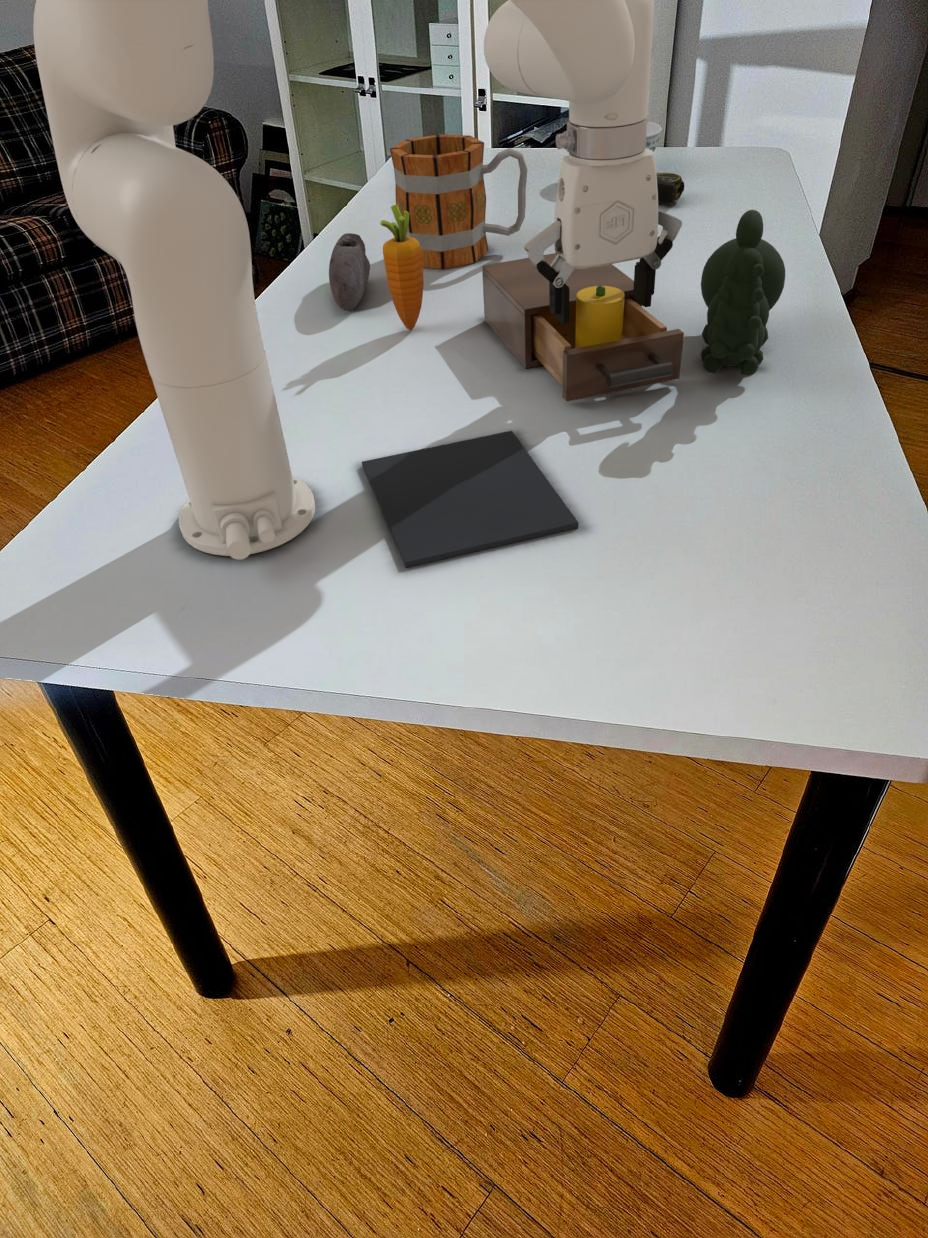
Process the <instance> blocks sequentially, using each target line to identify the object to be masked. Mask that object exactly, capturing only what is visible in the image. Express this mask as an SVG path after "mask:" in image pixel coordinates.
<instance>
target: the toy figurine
mask: <svg viewBox="0 0 928 1238" xmlns="http://www.w3.org/2000/svg"><path fill="white" fill-rule="evenodd" d="M763 219H764V218H763V216H762V214H761V213H760V212H759V211H758V210H757V209H748V210H747V211H745V212H744V213H743V214H742V215H741V217H740V219H739V221H738V223H737V226H736V231H735V238H732V239H729V240H727V241H726V242H724V243H723V244H722V245H720V246H719V247H717V249H715V250H714V251H713V252H712V253H711V255H710V256H709V257H708V258H707V261H706V262H705V264H704V266H703V270H702V273H701V279H700V290H701V291H700V292H701V296H702V298H703V302H704V304H705V305H706V308H707V312H706V323H707V324H705V326H704V327H703V329H702V332H701V337H702V340H703V342H704V343H705V344H706V345H707V346H706V347H705V346H704V347H703V348H702V351H701V352H700V354H699V355H700V359H701V361H702V365H703V369H704V370H705V372H707V373H709V374H710V373H711V374H716V373H718V372H719V371H720V370H721V368H722V367H723V366H726V367H738V369H739V372H740V374H742V375H743V376H752V375H753V374H755V373H756V372H757V371H758V369H759V366H760V365H761V363H762V362H763V361H764V352H763V351H762V350H761V348H762V347H763V346H764V345H765V343H766V342H767V341H768V339H769V332H768V328H767V323H768V321H769V318H770V311H771V310H772V309H773V308H774V307H775V305H776V304H777V303H778V302H779V300H780V298H781V296H782V293H783V291H784V287H785V282H786V266H785V263H784V260H783V258H782V256H781V254H780V252H779V251H778V250H777V249H776V248H775V247H774V246H773V245H772V244H771V243H769V242H768V241H766V240H764V239H762V238H763V235H764V220H763Z"/></svg>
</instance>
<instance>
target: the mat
mask: <svg viewBox="0 0 928 1238" xmlns="http://www.w3.org/2000/svg"><path fill="white" fill-rule="evenodd" d="M361 467H362V469H363V472H364V473H365V476H366V478H367V481H368V483H369V485H370V488H371V490H372V492H373V495H374V497H375V499H376V502H377V504H378V506H379V509H380V511H381V513H382V516H383V518H384V520H385V522H386V525H387V528H388V530H389V532H390V534H391V537H392V539H393V541H394V544H395V546H396V549H397V550H398V553H399V555H400V557H401V560H402V562H403V564H404V567H405V568H410V567H414V566H419V565H423V564H428V563H431V562H436V561H440V560H444V559H445V560H446V559H449V558H454V557H458V556H462V555H467V554H470V553H475V552H481V551H484V550H488V549H492V548H497V547H501V546H505V545H509V544H515V543H518V542H523V541H526V540H531V539H535V538H540V537H544V536H549V535H552V534H556V533H557V534H558V533H561V532H562V533H563V532H565V531H570V530H574V529H578V528H579V521H578V520H577V518H576V517H575V515H574V514H573V512H571V510H570V509H569V508H568V506H567V505H566V503H565V502H564V501H563V499H562V498H561V496H560V495H559V494H558V492H557V491H556V490H555V488H554V487H553V485H552V484H551V483H550V481H549V480H548V478H547V477H546V476H545V474H544V472H543V471H541V468H539V466H538V465H537V463H536V462H535V461H534V459H533V458H532V456H531V455H530V454H529V452H528V451H527V449H525V447H524V446H523V444H522V443H521V442H520V440H519V439H518V437H517V436H516V435H515V433H514V432H513V431H512V430H508V431H503V432H498V433H493V434H488V435H484V436H478V437H474V438H468V439H464V440H459V441H455V442H450V443H449V442H448V443H445V444H440V445H435V446H431V447H426V448H421V449H417V450H416V449H415V450H411V451H407V452H402V453H397V454H393V455H388V456H383V457H378V458H373V459H372V458H371V459H367V460H362V461H361Z"/></svg>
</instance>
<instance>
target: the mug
mask: <svg viewBox="0 0 928 1238" xmlns="http://www.w3.org/2000/svg"><path fill="white" fill-rule="evenodd" d="M389 151H390V156H391V157H390V158H391V160H392V165H393V173H394V174H393V175H394V182H395V185H394V186H395V205H397V206H398V208H399V210H400V212H401V215H402V217H404V211H407V212H408V213H409V224H408V230H407V234H406V236H407V237H413V238H415V239H417V240H418V242H419V244H420V246H421V249H422V260H423V269H424V268H425V269H435V270H436V269H438V270H445V269H452V268H455V267H461V266H466V265H470V264H476V263H477V262H478V261H479V260H481V258H483V257H484V256H485V255H486V254H487V253H488V252H489V246H488V239H487V233H490V234H496V235H497V234H498V235H501V236H507V237H509V236H511V235H514V234H516V233H518V232H519V231H520V230H521V227H522V225H523V223H524V221H525V218H526V210H527V209H526V207H527V180H528V171H529V170H528V166H527V164H526V163H527V162H526V161H525V157H524V154H523V153H522V152H520V151H517V150H515V149H513V148H510V147H508V148H506V149H504V150H501V151H500V152H497V154H496V155H495V156H494V158H492V160H491V161H490V162H489V163H488V164H484V153H485V152H484V151H485V142H484V141H482V140H480V139H479V138H476V137H474V136H473V135H469V134H432V135H427V136H421V137H414V138H408V139H404V140H403V141H401V142H399V143H397V144H396V145H394V146H392V147H390V148H389ZM509 157H511V158H513V159H516V160H517V162H518V167H519V179H518V186H517V216H516V220H515V222H514V224H512V225H510V226H508V227H506V226H503V225H500V224H495V223H486V211H487V194H486V193H487V192H486V185H485V179H484V175H486V174H490V173H493V171H495V170H496V169H497V168H498V166H499V165H500V164H501V163H502V161H503V160H505V159H508V158H509Z"/></svg>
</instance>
